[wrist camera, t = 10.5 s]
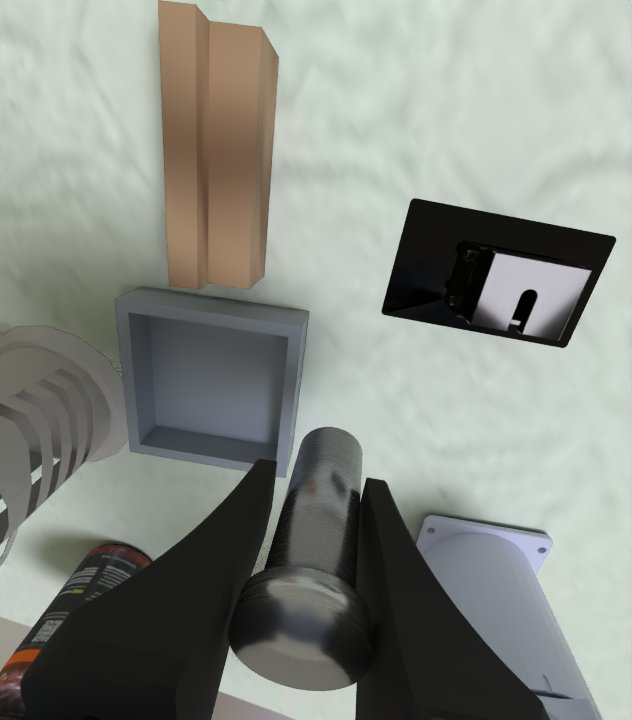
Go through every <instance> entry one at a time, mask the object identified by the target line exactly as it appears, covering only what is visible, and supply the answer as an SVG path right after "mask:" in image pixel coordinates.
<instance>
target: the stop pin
mask: <svg viewBox="0 0 632 720" xmlns="http://www.w3.org/2000/svg"><path fill="white" fill-rule="evenodd" d="M361 474H362V449H361V446H360V444H359V442H358V441H357V440H356V438H355V437H354V436H352V435H351V434H350V433H348V432H346V431H344V430H342V429H339V428H335V427H322V428H318V429H315V430H313V431H311V432H310V433H308V434H307V435H306V436H305V437H304V439H303V440H302V443H301V446H300V449H299V453H298V456H297V459H296V463H295V466H294V470H293V473H292V476H291V480H290V483H289V487H288V490H287V494H286V497H285V500H284V504H283V507H282V511H281V514H280V517H279V521H278V524H277V528H276V531H275V534H274V538H273V541H272V545H271V548H270V551H269V555H268V558H267V562H266V565H265V569H264V571H261V572H259V573H257V574H255V575H253V576H252V577H251V578H249V579H248V580H247V581H246V582H245V584H244V585H243V587H242V589H241V591H240V594H239V597H238V600H237V603H236V606H235V609H234V612H233V615H232V618H231V621H230V624H229V627H228V641H229V644H230V646H231V649H232V650H233V652H234V653H235V655H236V656H237V657H238V658H239V660H240V661H241V662H242V663H243V664H245V665H246V666H247V667H248V668H250V669H251V670H252V671H254V672H255V673H257V674H259V675H260V676H262V677H264V678H266V679H268V680H270V681H273V682H275V683H278V684H281V685H284V686H287V687H291V688H296V689H301V690H309V691H329V690H336V689H341V688H345V687H348V686H350V685H352V684H354V683H356V682H358V681H359V680H360V679H362V678H363V677H364V676H365V674H366V673H367V672H368V670H369V668H370V664H371V613H370V610H369V607H368V605H367V604H366V602H365V600H364V599H363V598H362V596H361V595H360V594H359V593H358V592H357V591H356V573H357V553H358V534H359V514H360V494H361Z"/></svg>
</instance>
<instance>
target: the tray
mask: <svg viewBox="0 0 632 720" xmlns="http://www.w3.org/2000/svg"><path fill="white" fill-rule="evenodd" d="M115 307H116V317H117V327H118V337H119V347H120V356H121V366H122V376H123V386H124V396H125V406H126V416H127V426H128V436H129V446H130V452H136V453H142V454H148V455H154V456H159V457H165V458H171V459H177V460H183V461H189V462H195V463H200V464H206V465H212V466H218V467H224V468H230V469H236V470H241V471H247V472H249V470H250V469H251V468H252V466H253V465H254V463H255V462H256V460H258V459H266V460H272V461H277V469H276V477H282V478H285V477H286V473H287V469H288V466H289V462H290V458H291V454H292V450H293V441H294V433H295V425H296V417H297V408H298V400H299V392H300V384H301V376H302V367H303V359H304V351H305V343H306V334H307V326H308V318H309V312H308V311H302V310H295V309H289V308H282V307H275V306H269V305H262V304H255V303H249V302H242V301H236V300H229V299H222V298H216V297H209V296H202V295H196V294H189V293H183V292H176V291H169V290H163V289H156V288H150V287H143V286H142V287H140V288H138V289H135V290H133V291H130V292H128V293H126V294H123V295H121V296H119V297H116V298H115Z"/></svg>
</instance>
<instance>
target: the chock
mask: <svg viewBox="0 0 632 720" xmlns="http://www.w3.org/2000/svg"><path fill="white" fill-rule="evenodd" d="M158 15H159V41H160V67H161V93H162V119H163V145H164V171H165V197H166V223H167V249H168V276H169V286H175V287H182V288H189V289H195V290H198V289H200V288H201V287H203V286H205V285H206V284H215V285H221V286H228V287H235V288H241V289H248V290H249V289H250V288H251V287H252V286H253V285H254V284H256V283H257V282H258V281H259V280H260V279H261V278H263V277H264V271H265V257H266V242H267V227H268V212H269V197H270V182H271V167H272V152H273V137H274V122H275V107H276V92H277V78H278V63H279V57H278V55H277V53H276V51H275V50H274V48H273V46H272V44H271V43H270V41H269V39H268V37H267V36H266V34H265V32H264V30H263V29H262V27H256V26H247V25H239V24H230V23H222V22H213V21H209V20H208V19H207V17H206V16H205V15H204V14H203V13H202V12H201V10H200V9H199V8H198V7H197V6H196V5H195V4H187V3H178V2H170V1H161V0H158Z"/></svg>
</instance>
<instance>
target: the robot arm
mask: <svg viewBox="0 0 632 720" xmlns="http://www.w3.org/2000/svg"><path fill="white" fill-rule="evenodd" d="M276 469H277V461H272V460H266V459H258V460H256V462H255V463H254V465H253V466H252V468H251V469H250V470H249V472H248V473H247V474H246V476H245V477H244V478H243V479H242V480H241V482H240V483H239V484H238V485H237V486H236V488H235V489H234V490H233V491H232V492H231V493H230V494H229V495H228V497H227V498H226V499H225V500H224V501H223V502H222V503H221V504H220V505H219V506H218V507H217V508H216V509H215V510H214V511H213V512H212V513H211V514H210V515H209V516H208V517H207V518H206V519H205V520H204V521H203V522H202V523H201V524H199V525H198V526H197V527H196V528H195V529H194V530H193V531H192V532H190V533H189V534H188V535H187V536H186V537H184V538H183V539H182V540H181V541H180V542H178V543H177V544H176V545H174V546H173V547H172V548H171V549H169V550H168V551H167V552H165V553H164V554H163V555H161V556H160V557H159V558H157V559H156V560H155V561H153V562H152V563H150V564H149V565H147V566H146V567H144V568H143V569H141V570H140V571H138V572H137V573H135V574H134V575H132V576H131V577H129V578H127V579H126V580H124V581H123V582H121V583H120V584H118V585H116V586H115V587H113V588H111V589H110V590H108V591H106V592H104V593H103V594H101V595H99V596H97V597H96V598H94V599H92V600H90V601H88V602H87V603H85V604H83V605H81V606H80V607H78V608H76V609H74V610H72V611H71V613H70V614H69V615H68V616H67V617H66V619H65V620H64V621H63V622H62V623H61V624H60V626H59V627H58V628H57V629H56V630H55V632H54V633H53V634H52V635H51V636H50V638H49V639H48V640H47V642H46V643H45V645H44V646H43V648H42V649H41V651H40V652H39V653H38V655H37V656H36V658H35V659H34V661H33V662H32V664H31V665H30V666H29V668H28V669H27V671H26V672H25V674H24V675H23V677H22V679H21V681H20V690H21V697H22V700H23V703H24V706H25V708H26V711H27V714H28V717H29V720H211V718H212V714H213V709H214V706H215V702H216V698H217V694H218V689H219V686H220V682H221V678H222V674H223V670H224V666H225V662H226V658H227V654H228V650H229V646H230V644H229V641H228V627H229V624H230V621H231V618H232V615H233V612H234V609H235V606H236V603H237V600H238V597H239V594H240V591H241V589H242V587H243V585H244V584H245V582H246V581H247V580H248V579H249V578H250V577H251V574H252V571H253V569H254V566H255V563H256V560H257V557H258V554H259V551H260V549H261V546H262V543H263V540H264V537H265V534H266V529H267V525H268V521H269V517H270V513H271V509H272V502H273V494H274V486H275V477H276ZM429 528H432V529H429ZM552 546H553V541H552V539H551V537H550V536H548V535H546V534H540V533H534V532H528V531H523V530H517V529H511V528H505V527H499V526H494V525H488V524H482V523H476V522H470V521H465V520H459V519H453V518H447V517H441V516H435V515H430V516H427V517H426V518H425V519H424V522H423V525H422V528H421V531H420V534H419V537H418V540H417V543H416V544H415V542H414V540H413V538H412V537H411V535H410V533H409V531H408V529H407V527H406V525H405V523H404V521H403V519H402V517H401V515H400V513H399V511H398V509H397V506H396V504H395V502H394V500H393V497H392V495H391V493H390V490H389V488H388V485H387V483H386V482H385V481H384V480H378V479H372V478H366V482H365V486H364V490H363V494H362V498H361V502H360V514H359V534H358V553H357V573H356V591H357V592H358V593H359V594H360V595H361V596H362V598H363V599H364V600H365V602H366V604H367V605H368V607H369V610H370V613H371V664H370V668H369V670H368V672H367V673H366V674H365V676H364V677H363V678H362V679H360V680H359V681H358V682H357V692H356V718H355V720H604V719H603V718H602V716H601V714H600V712H599V710H598V708H597V705H596V703H595V701H594V699H593V697H592V695H591V693H590V690H589V688H588V686H587V684H586V682H585V680H584V678H583V675H582V673H581V671H580V669H579V667H578V665H577V663H576V661H575V658H574V656H573V654H572V652H571V650H570V648H569V646H568V643H567V641H566V639H565V637H564V635H563V633H562V631H561V628H560V626H559V624H558V622H557V620H556V618H555V616H554V614H553V611H552V609H551V607H550V605H549V603H548V601H547V599H546V596H545V594H544V592H543V590H542V588H541V586H540V584H539V581H538V579H537V577H536V575H537V573H538V572H539V570H540V568H541V566H542V564H543V562H544V561H545V559H546V557H547V555H548V553H549V551H550V550H551V548H552Z"/></svg>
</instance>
